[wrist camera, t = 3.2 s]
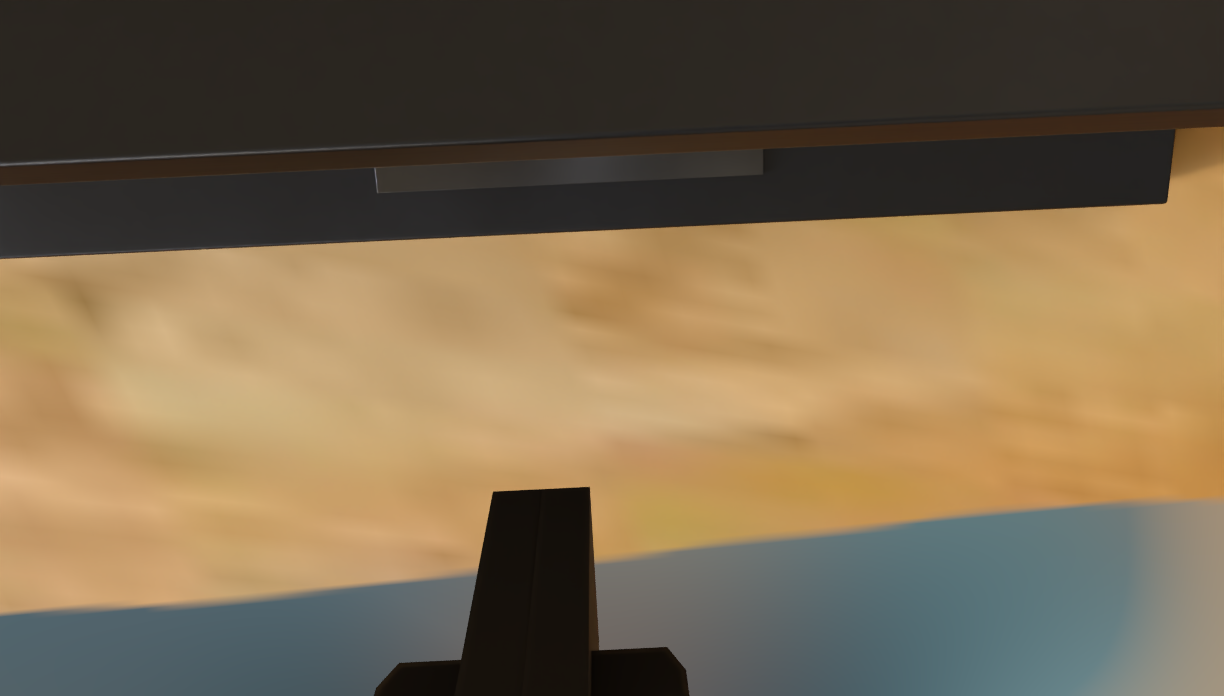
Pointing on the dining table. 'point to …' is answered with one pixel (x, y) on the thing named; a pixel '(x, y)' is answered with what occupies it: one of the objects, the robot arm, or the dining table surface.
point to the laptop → (586, 194)
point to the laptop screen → (573, 78)
